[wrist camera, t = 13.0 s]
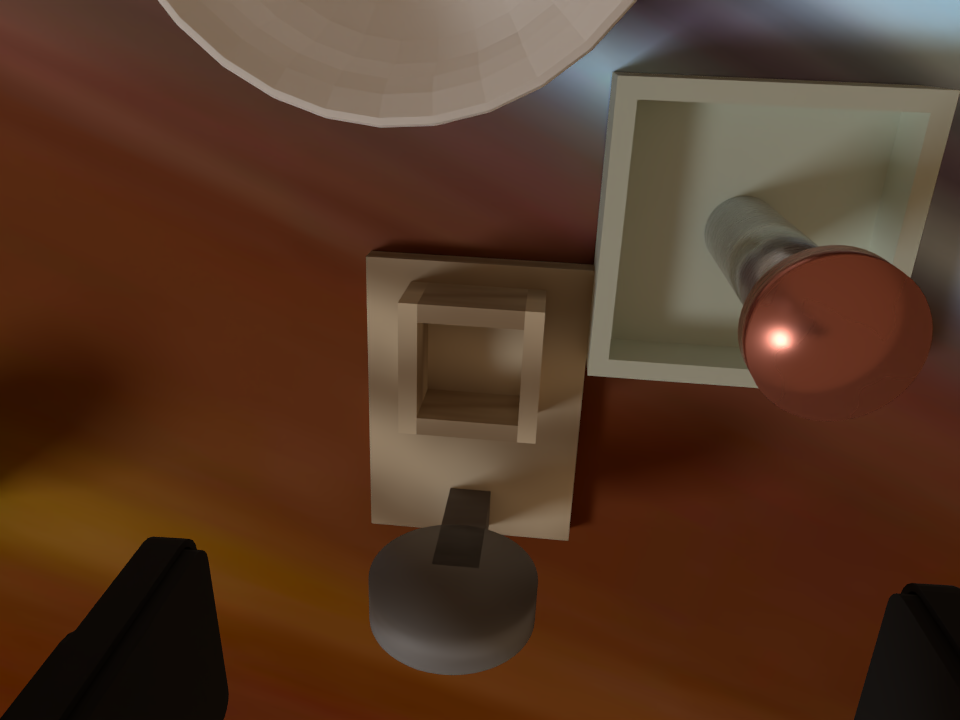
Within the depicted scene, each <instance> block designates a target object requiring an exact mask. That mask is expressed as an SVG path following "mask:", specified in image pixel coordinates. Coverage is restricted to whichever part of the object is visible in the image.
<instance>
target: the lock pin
mask: <svg viewBox="0 0 960 720" xmlns="http://www.w3.org/2000/svg"><path fill="white" fill-rule="evenodd" d="M704 239H705V244H706V247H707V249H708V251H709V252H710V254H711V255H712V257H713V259H714V260H715V262H716V263H717V265H718V267H719V268H720V270H721V271H722V273H723V274H724V276H725V278H726V279H727V281H728V282H729V284H730V286H731V287H732V289H733V290H734V292H735V293H736V295H737V297H738V298H739V300H740V301H741V303H742V305H743V307H742V310H741V314H740V318H739V323H738V343H739V348H740V352H741V355H742V358H743V360H744V362H745V364H746V366H747V368H748V370H749V372H750V374H751V376H752V377H753V379H754V381H755V383H756V385H757V386H758V388H759V389H760V391H761V392H762V393H763V394H764V395H765V396H766V397H767V398H768V399H769V400H770V401H771V402H772V403H773V404H775V405H776V406H777V407H779V408H781V409H782V410H784V411H786V412H788V413H790V414H793V415H795V416H798V417H801V418H805V419H809V420H816V421H841V420H847V419H852V418H856V417H860V416H863V415H866V414H868V413H871V412H873V411H875V410H878V409H879V408H881V407H883V406H885V405H886V404H888V403H890V402H891V401H892V400H894V399H895V398H897V397H898V396H899V395H900V394H901V393H902V392H903V391H904V390H906V389H907V388H908V386H909V385H910V384H911V383H912V382H913V381H914V380H915V378H916V377H917V375H918V374H919V372H920V371H921V369H922V367H923V365H924V363H925V361H926V359H927V356H928V353H929V350H930V347H931V342H932V332H933V324H932V316H931V312H930V308H929V305H928V303H927V300H926V298H925V296H924V294H923V293H922V291H921V290H920V288H919V287H918V286H917V284H916V283H915V282H914V281H913V280H912V279H911V278H910V277H909V276H907V275H906V274H905V273H904V272H902V271H901V270H900V269H898V268H897V267H895V266H894V265H892V264H891V263H890V262H888V261H887V260H885V259H884V258H882V257H880V256H878V255H877V254H875V253H873V252H870V251H868V250H865V249H862V248H858V247H854V246H846V245H826V246H818V245H817V244H815V243H814V242H813V241H812V240H811V239H809V238H808V237H807V236H806V235H805V234H803V233H802V232H801V231H800V230H799V229H797V228H796V227H795V226H794V225H793V224H791V223H790V222H789V221H788V220H787V219H785V218H784V217H783V216H782V215H781V214H779V213H778V212H777V211H776V210H775V209H773V208H772V207H771V206H770V205H768V204H767V203H766V202H765V201H763V200H761V199H759V198H757V197H753V196H737V197H733V198H730V199H728V200H726V201H724V202H722V203H721V204H719V205H718V206H717V207H716V208H715V209H714V210H713V211H712V213H711V214H710V216H709V218H708V220H707V222H706V225H705V229H704Z"/></svg>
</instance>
